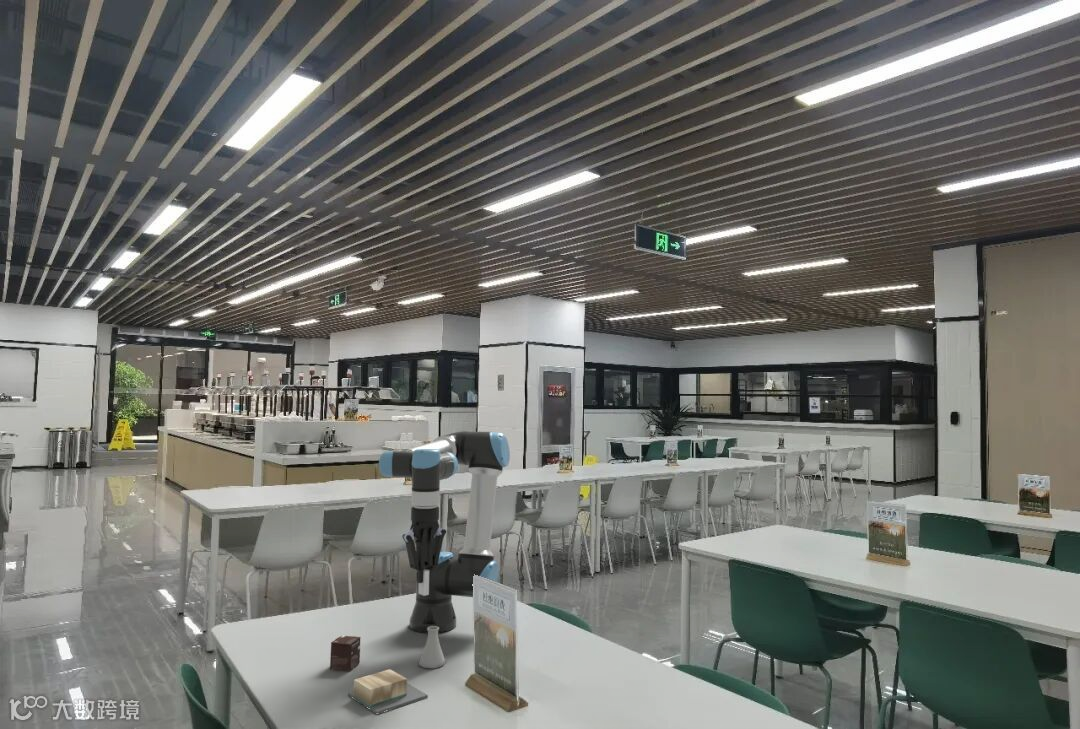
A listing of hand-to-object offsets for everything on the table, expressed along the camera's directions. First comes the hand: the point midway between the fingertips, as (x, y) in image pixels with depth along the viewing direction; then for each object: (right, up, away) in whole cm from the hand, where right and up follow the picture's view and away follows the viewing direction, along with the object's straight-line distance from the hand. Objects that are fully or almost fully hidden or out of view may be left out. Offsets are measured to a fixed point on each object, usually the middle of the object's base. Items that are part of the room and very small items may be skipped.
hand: (423, 594), depth 178 cm
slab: (-4, -18, -13) cm, 22 cm away
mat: (-6, -20, -15) cm, 26 cm away
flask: (+1, -22, +6) cm, 23 cm away
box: (-22, -21, +3) cm, 31 cm away
